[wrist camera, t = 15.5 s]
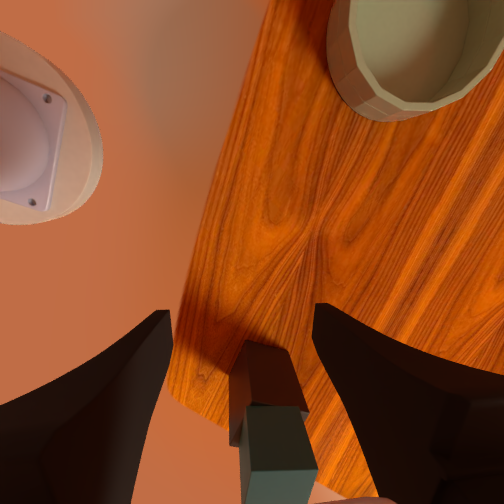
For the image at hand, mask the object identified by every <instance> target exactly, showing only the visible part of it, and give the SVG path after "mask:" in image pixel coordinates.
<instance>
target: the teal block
mask: <svg viewBox="0 0 504 504" xmlns="http://www.w3.org/2000/svg"><path fill="white" fill-rule="evenodd" d="M239 455H240V480H241V502H242V504H307V503H308V500H309V497H310V494H311V491H312V488H313V485H314V482H315V479H316V476H317V473H318V466H317V463H316V460H315V457H314V453H313V450H312V447H311V444H310V441H309V437H308V434H307V431H306V428H305V425H304V421H303V418H302V415H301V412H300V409H299V406H246V407H245V413H244V419H243V425H242V430H241V436H240V442H239Z"/></svg>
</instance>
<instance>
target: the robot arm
mask: <svg viewBox="0 0 504 504" xmlns="http://www.w3.org/2000/svg"><path fill="white" fill-rule="evenodd" d="M48 96H50V97H51V99H52V101H51V103H48V101H47V97H48ZM66 113H67V102H66V100H65V99H64V98H63V97H62V96H60V95H58V94H56V93H54V92H51V91H49V90H47V89H44V88H42V87H40V86H37V85H35V84H32V83H30V82H28V81H25V80H23V79H21V78H18V77H16V76H14V75H11V74H9V73H7V72H4V71H2V70H0V199H3V200H6V201H9V202H12V203H15V204H18V205H22V206H25V207H28V208H31V209H34V210H37V211H41V212H43V211H48V210H49V209H50V207H51V202H52V196H53V190H54V184H55V178H56V172H57V166H58V160H59V154H60V149H61V143H62V137H63V131H64V125H65V119H66ZM32 199H34V200H35V201H36V205H34V204H33V203H32ZM312 340H313V343H314V346H315V348H316V351H317V354H318V356H319V358H320V360H321V362H322V364H323V366H324V368H325V370H326V372H327V373H328V375H329V377H330V379H331V381H332V383H333V385H334V387H335V389H336V390H337V392H338V394H339V396H340V398H341V400H342V402H343V404H344V406H345V409H346V411H347V413H348V416H349V418H350V421H351V423H352V426H353V428H354V430H355V433H356V436H357V438H358V441H359V443H360V446H361V448H362V451H363V454H364V456H365V459H366V462H367V464H368V467H369V470H370V473H371V476H372V478H373V481H374V484H375V487H376V489H377V492H378V495H379V497H361V498H353V499H346V500H339V501H331V502H323V503H316V504H504V375H500V374H496V373H492V372H488V371H484V370H480V369H476V368H472V367H469V366H466V365H462V364H459V363H456V362H452V361H449V360H446V359H443V358H440V357H437V356H434V355H431V354H429V353H426V352H423V351H421V350H418V349H415V348H413V347H410V346H408V345H406V344H403V343H401V342H399V341H397V340H394V339H392V338H390V337H388V336H386V335H384V334H382V333H380V332H378V331H376V330H374V329H372V328H370V327H368V326H367V325H365V324H363V323H361V322H360V321H358V320H356V319H354V318H353V317H351V316H349V315H348V314H346V313H344V312H343V311H341V310H339V309H338V308H336V307H334V306H332V305H330V304H328V303H315V311H314V320H313V330H312ZM172 350H173V337H172V328H171V319H170V310H156V311H155V312H153V313H152V314H151V315H149V316H148V317H147V318H146V319H145V320H143V321H142V322H141V323H140V324H139V325H137V326H136V327H135V328H134V329H132V330H131V331H130V332H129V333H127V334H126V335H125V336H124V337H122V338H121V339H119V340H118V341H117V342H115V343H114V344H113V345H111V346H110V347H108V348H107V349H106V350H104V351H103V352H101V353H100V354H98V355H97V356H96V357H93V358H92V359H90V360H89V361H87V362H85V363H84V364H82V365H80V366H79V367H77V368H75V369H73V370H72V371H70V372H68V373H66V374H65V375H63V376H61V377H59V378H57V379H56V380H53V381H51V382H49V383H47V384H45V385H43V386H41V387H39V388H37V389H36V390H33V391H31V392H29V393H27V394H25V395H23V396H20V397H18V398H16V399H14V400H12V401H9V402H7V403H5V404H3V405H0V504H131V499H132V494H133V490H134V485H135V481H136V476H137V472H138V468H139V463H140V459H141V455H142V451H143V446H144V443H145V439H146V435H147V431H148V427H149V423H150V420H151V416H152V413H153V411H154V408H155V405H156V402H157V399H158V396H159V394H160V391H161V387H162V385H163V382H164V379H165V376H166V373H167V370H168V367H169V364H170V359H171V355H172Z"/></svg>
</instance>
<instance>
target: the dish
mask: <svg viewBox="0 0 504 504" xmlns="http://www.w3.org/2000/svg"><path fill="white" fill-rule="evenodd" d="M503 49H504V0H334V2H333V5H332V8H331V12H330V16H329V21H328V27H327V35H326V51H327V61H328V66H329V71H330V74H331V77H332V80H333V83H334V85H335V87H336V89H337V91H338V93H339V94H340V96H341V97H342V99H343V100H344V101H345V102H346V103H347V105H348V106H349V107H351V108H352V109H353V110H354V111H355V112H357V113H358V114H360V115H361V116H364V117H366V118H368V119H371V120H375V121H381V122H392V121H403V120H406V119H409V118H412V117H415V116H419V115H422V114H425V113H428V112H431V111H434V110H436V109H438V108H441V107H443V106H445V105H447V104H450V103H452V102H454V101H456V100H459V99H461V98H463V97H464V96H465V95H466V94H467V93H468V92H469V91H470V90H471V89H472V88H473V87H474V86H476V85H477V84H478V83H479V82H480V81H481V80H482V79H483V78H484V77H485V76H486V75H487V74H488V73H489V72H490V71H491V70H492V68H493V66H494V65H495V63H496V61H497V59H498V58H499V56H500V54H501V52H502V51H503Z"/></svg>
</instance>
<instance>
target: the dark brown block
mask: <svg viewBox="0 0 504 504" xmlns="http://www.w3.org/2000/svg"><path fill="white" fill-rule="evenodd" d="M246 406H299V409H300V412H301V415H302V418H303V421H304V422H305V420H306V418H307V417H308V415H309V410H308V407H307V404H306V401H305V398H304V395H303V392H302V389H301V387H300V384H299V381H298V378H297V375H296V372H295V369H294V367H293V364H292V361H291V358H290V355H289V352H288V351H285V350H282V349H278V348H274V347H271V346H267V345H263V344H260V343H256V342H252V341H249V340H245V342H244V344H243V346H242V348H241V351H240V353H239V355H238V357H237V359H236V361H235V364H234V366H233V368H232V370H231V372H230V375H229V445H230V446H233V447H239V442H240V436H241V430H242V425H243V419H244V413H245V407H246Z"/></svg>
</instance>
